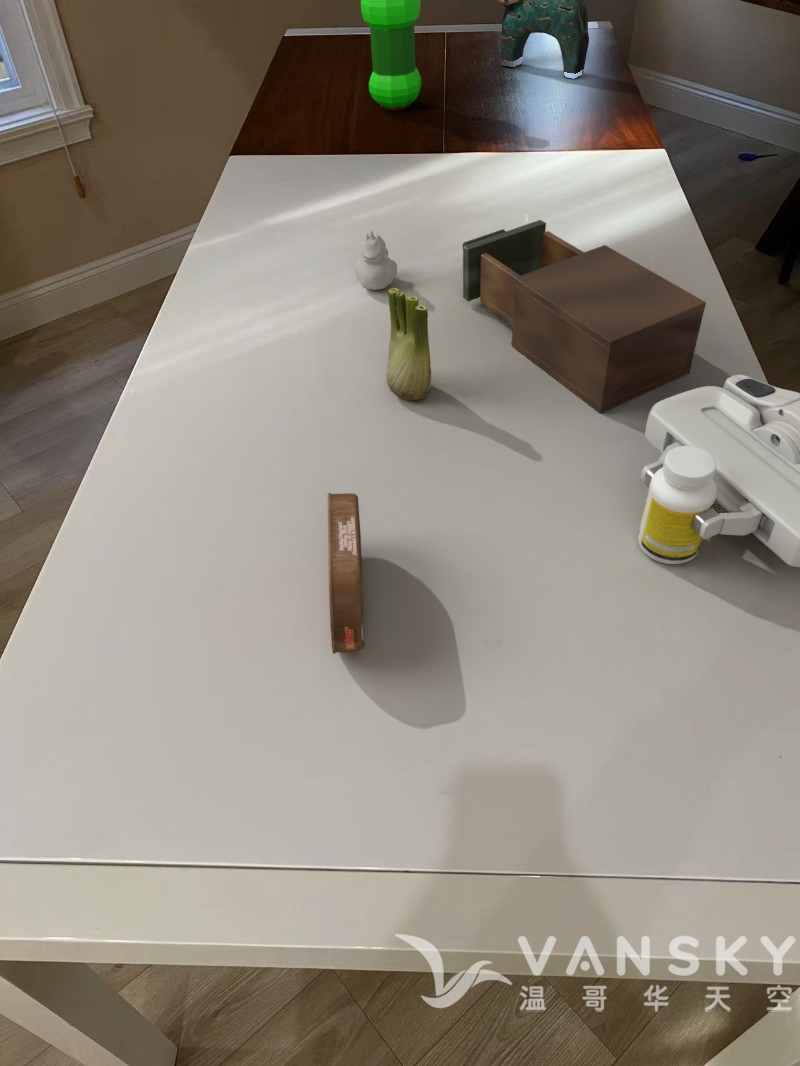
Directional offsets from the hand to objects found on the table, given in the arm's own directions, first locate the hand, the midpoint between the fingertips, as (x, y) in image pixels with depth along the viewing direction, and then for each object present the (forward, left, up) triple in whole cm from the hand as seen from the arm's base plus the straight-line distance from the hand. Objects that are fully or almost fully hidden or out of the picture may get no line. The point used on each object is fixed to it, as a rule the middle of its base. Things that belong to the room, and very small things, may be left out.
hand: (670, 502), depth 70 cm
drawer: (-15, -40, -5) cm, 43 cm away
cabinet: (-15, -26, -6) cm, 30 cm away
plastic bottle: (-39, -112, -6) cm, 119 cm away
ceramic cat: (-72, -111, -6) cm, 132 cm away
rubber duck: (-3, -56, -6) cm, 56 cm away
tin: (+26, -10, -6) cm, 29 cm away
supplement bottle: (-1, 0, -6) cm, 6 cm away
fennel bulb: (+6, -33, -6) cm, 34 cm away
